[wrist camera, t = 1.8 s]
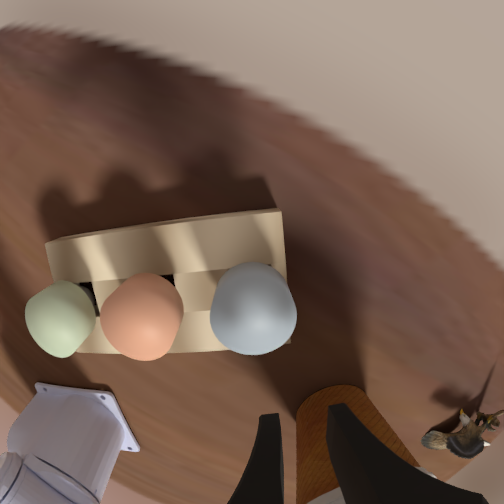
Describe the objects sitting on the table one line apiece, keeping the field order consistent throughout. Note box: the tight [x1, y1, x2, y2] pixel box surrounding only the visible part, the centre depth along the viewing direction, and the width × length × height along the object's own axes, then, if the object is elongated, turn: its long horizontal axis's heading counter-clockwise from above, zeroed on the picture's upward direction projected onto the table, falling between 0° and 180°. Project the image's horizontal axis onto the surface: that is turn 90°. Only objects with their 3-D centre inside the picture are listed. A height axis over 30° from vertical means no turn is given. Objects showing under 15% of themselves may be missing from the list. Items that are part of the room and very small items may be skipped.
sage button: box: [25, 280, 96, 358], centre depth 15 cm, size 4×4×4 cm
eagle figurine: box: [421, 409, 504, 459], centre depth 21 cm, size 8×7×9 cm
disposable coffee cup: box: [296, 385, 437, 504], centre depth 16 cm, size 10×10×12 cm
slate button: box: [210, 262, 297, 355], centre depth 15 cm, size 4×4×4 cm
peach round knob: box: [100, 273, 184, 361], centre depth 15 cm, size 4×4×4 cm
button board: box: [45, 208, 291, 354], centre depth 18 cm, size 15×8×2 cm, turn 96°
